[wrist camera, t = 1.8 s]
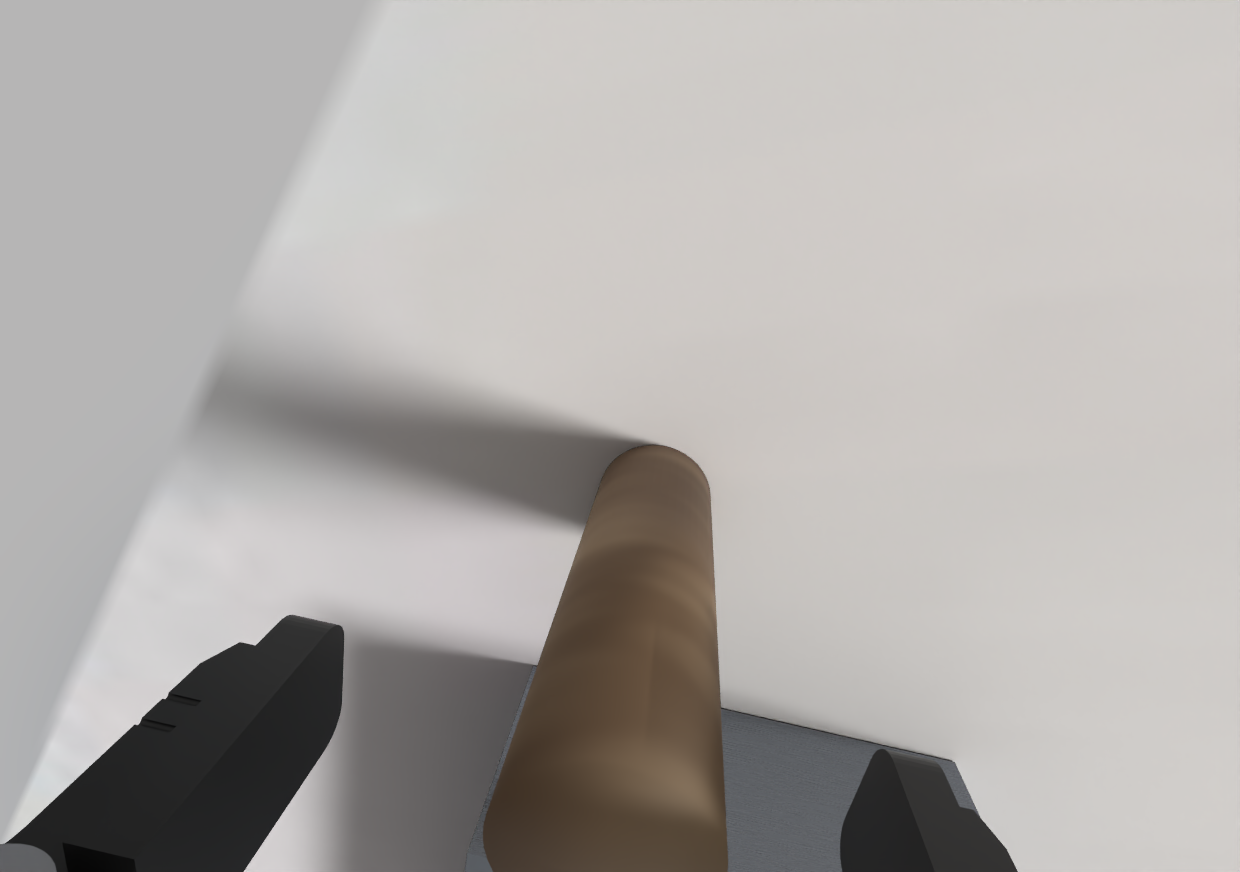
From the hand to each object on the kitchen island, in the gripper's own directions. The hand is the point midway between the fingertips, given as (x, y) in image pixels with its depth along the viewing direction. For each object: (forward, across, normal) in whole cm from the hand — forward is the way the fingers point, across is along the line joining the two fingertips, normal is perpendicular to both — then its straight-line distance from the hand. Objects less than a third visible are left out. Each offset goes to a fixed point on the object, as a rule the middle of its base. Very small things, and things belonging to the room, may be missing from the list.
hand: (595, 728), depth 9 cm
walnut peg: (+8, 0, 0) cm, 8 cm away
